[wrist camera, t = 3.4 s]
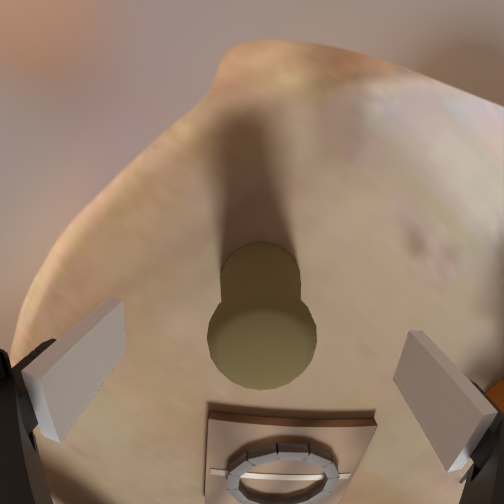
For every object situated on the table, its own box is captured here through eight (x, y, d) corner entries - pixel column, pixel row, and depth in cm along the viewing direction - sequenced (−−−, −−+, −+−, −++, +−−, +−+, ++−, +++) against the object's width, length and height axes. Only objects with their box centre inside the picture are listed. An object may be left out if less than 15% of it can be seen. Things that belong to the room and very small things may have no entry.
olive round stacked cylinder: (266, 333, 25) (272, 426, 14) (204, 288, 24) (167, 362, 13) (316, 275, 24) (359, 342, 13) (253, 225, 23) (249, 259, 12)
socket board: (205, 498, 30) (203, 513, 27) (210, 410, 26) (206, 428, 24) (332, 502, 30) (335, 517, 27) (374, 418, 27) (381, 434, 24)
